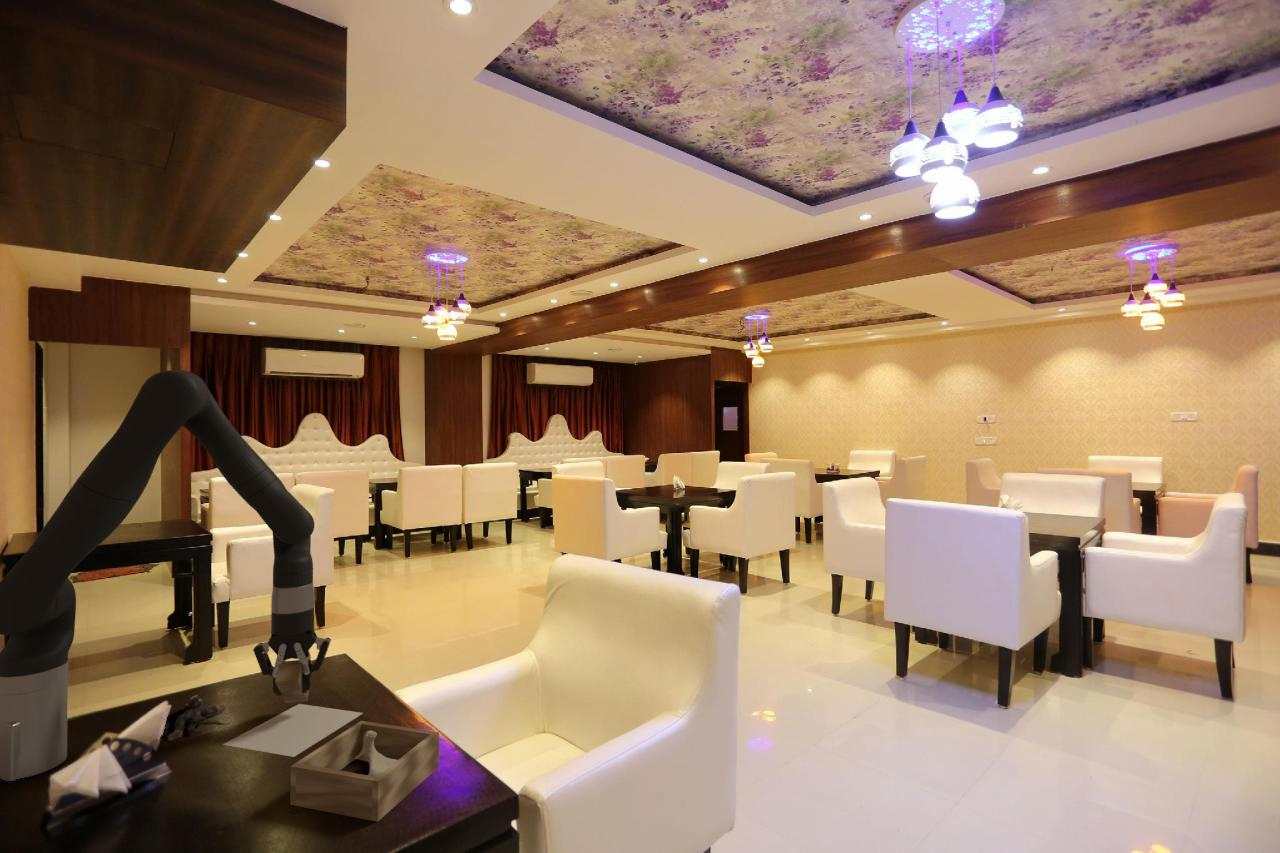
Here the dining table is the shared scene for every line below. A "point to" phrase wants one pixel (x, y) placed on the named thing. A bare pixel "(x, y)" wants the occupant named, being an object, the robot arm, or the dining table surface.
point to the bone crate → (358, 793)
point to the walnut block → (291, 681)
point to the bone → (373, 756)
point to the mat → (293, 730)
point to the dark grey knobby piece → (191, 718)
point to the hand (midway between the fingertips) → (292, 692)
